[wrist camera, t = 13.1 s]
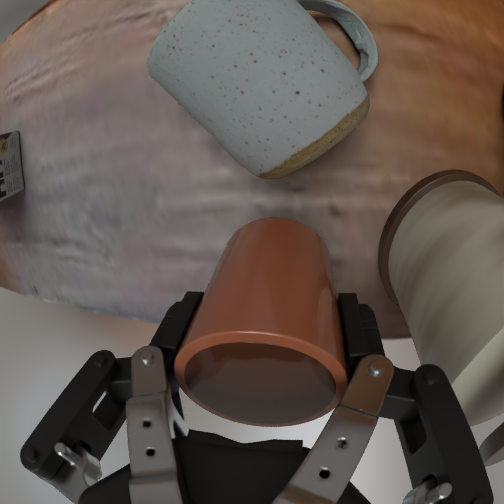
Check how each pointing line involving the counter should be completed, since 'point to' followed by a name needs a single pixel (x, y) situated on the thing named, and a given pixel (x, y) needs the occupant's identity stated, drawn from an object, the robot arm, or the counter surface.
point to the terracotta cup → (267, 330)
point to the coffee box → (10, 165)
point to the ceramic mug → (266, 77)
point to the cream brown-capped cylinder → (453, 288)
